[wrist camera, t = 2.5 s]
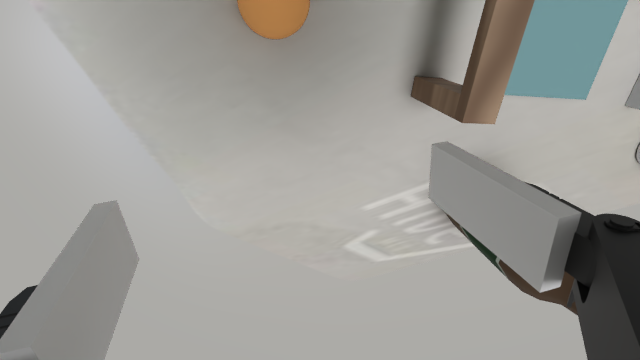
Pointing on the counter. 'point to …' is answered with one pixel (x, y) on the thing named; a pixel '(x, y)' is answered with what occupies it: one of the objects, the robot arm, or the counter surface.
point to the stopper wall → (634, 96)
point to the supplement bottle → (638, 154)
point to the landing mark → (563, 47)
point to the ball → (274, 16)
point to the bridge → (481, 66)
